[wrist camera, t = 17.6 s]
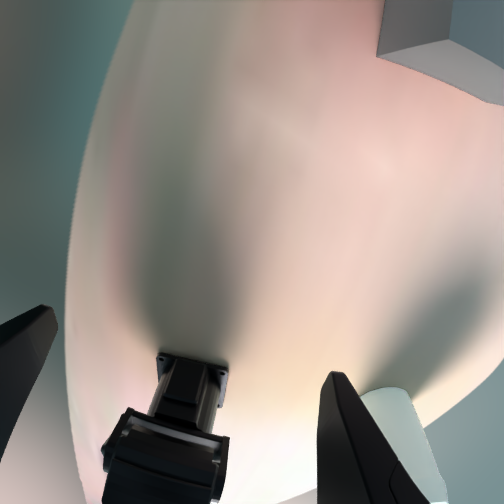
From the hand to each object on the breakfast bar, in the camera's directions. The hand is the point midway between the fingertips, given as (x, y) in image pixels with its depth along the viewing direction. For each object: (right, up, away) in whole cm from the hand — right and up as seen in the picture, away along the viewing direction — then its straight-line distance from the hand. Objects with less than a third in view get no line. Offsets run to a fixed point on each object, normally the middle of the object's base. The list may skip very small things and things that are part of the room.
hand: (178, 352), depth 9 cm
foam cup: (+15, -12, +19) cm, 28 cm away
